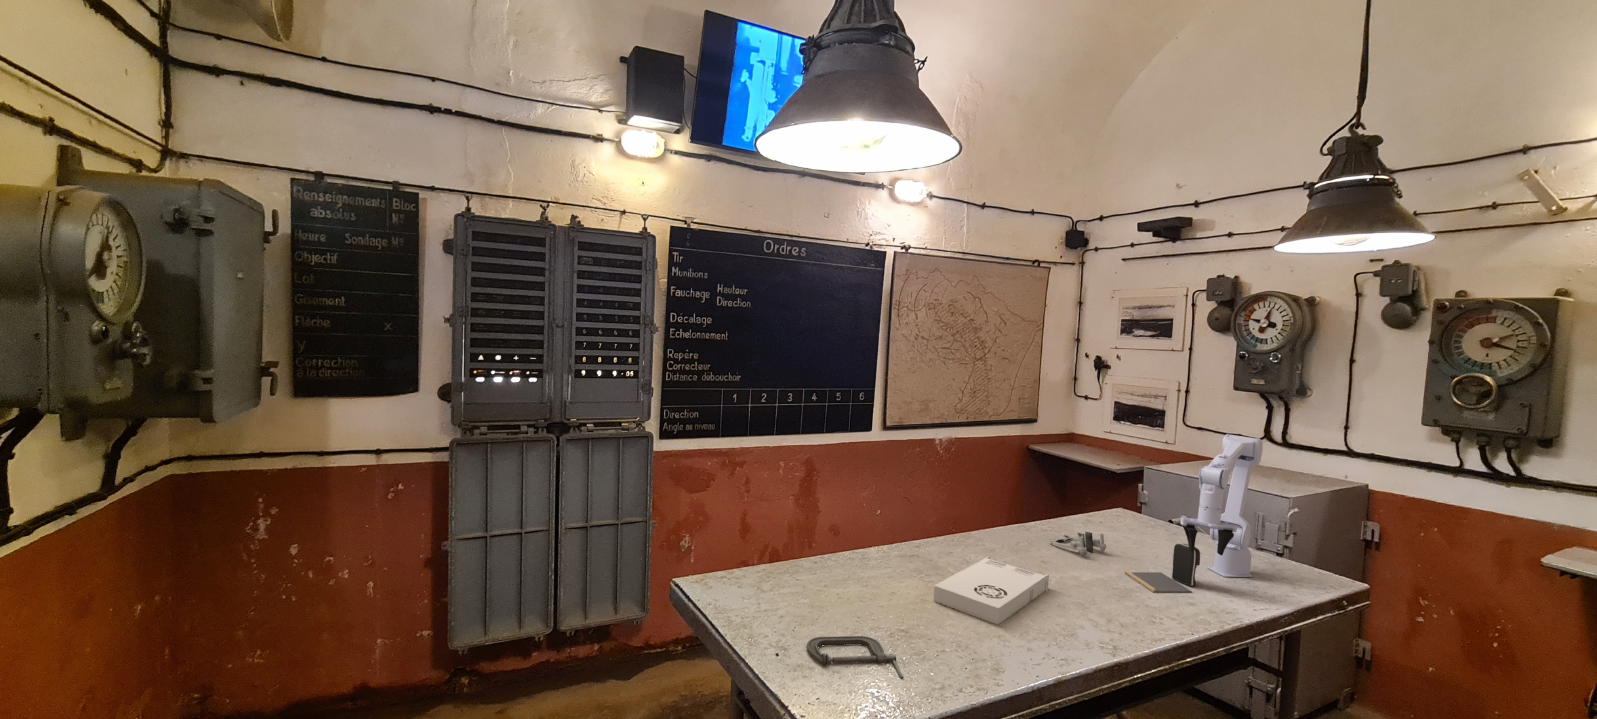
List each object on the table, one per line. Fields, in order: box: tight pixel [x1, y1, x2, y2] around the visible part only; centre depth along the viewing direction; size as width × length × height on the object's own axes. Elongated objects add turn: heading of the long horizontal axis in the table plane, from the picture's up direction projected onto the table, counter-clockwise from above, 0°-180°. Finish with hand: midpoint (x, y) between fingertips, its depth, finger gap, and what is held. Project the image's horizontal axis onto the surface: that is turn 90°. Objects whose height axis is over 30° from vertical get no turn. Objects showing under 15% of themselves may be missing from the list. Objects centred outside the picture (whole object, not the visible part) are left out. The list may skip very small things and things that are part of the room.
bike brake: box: [1048, 531, 1107, 556], centre depth 226 cm, size 14×7×20 cm
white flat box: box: [932, 555, 1050, 626], centre depth 184 cm, size 19×33×5 cm, turn 137°
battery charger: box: [1171, 542, 1201, 587], centre depth 198 cm, size 7×4×11 cm, turn 17°
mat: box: [1124, 570, 1193, 594], centre depth 197 cm, size 12×14×1 cm
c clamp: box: [806, 635, 904, 680], centre depth 147 cm, size 20×17×3 cm
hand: (1205, 552), depth 194 cm, fingers open, 7 cm apart
